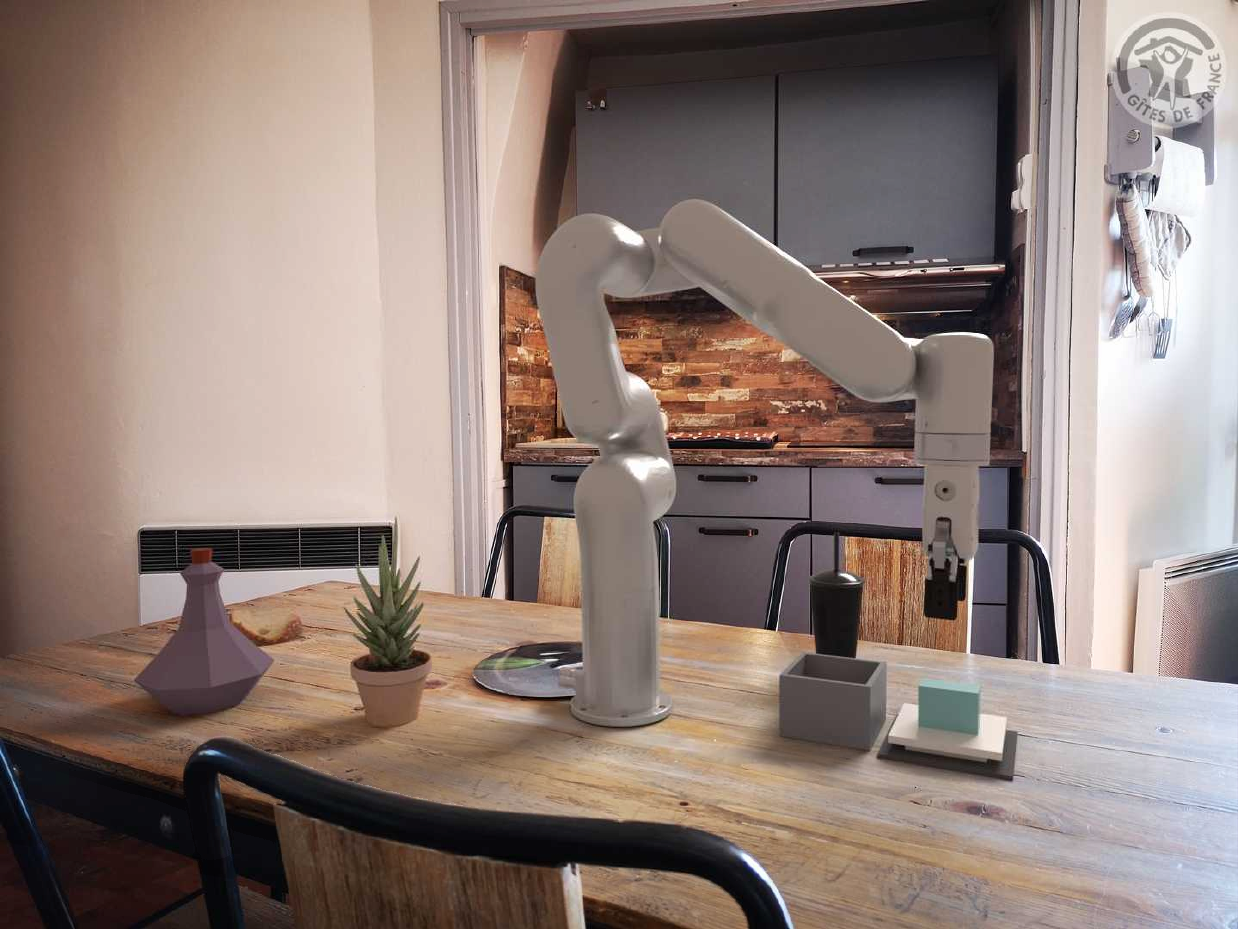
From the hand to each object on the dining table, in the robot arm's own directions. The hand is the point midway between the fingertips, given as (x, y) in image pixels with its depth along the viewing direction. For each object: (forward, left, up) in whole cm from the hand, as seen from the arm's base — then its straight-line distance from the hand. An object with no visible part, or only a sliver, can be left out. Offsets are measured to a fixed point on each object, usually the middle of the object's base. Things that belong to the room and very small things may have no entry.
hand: (945, 608), depth 91 cm
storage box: (-12, 0, -15) cm, 19 cm away
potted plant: (-61, -19, -15) cm, 66 cm away
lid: (0, 0, -15) cm, 15 cm away
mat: (+1, 0, -15) cm, 15 cm away
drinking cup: (-16, +19, -15) cm, 29 cm away
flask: (-87, -25, -15) cm, 92 cm away
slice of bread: (-111, +3, -16) cm, 113 cm away
